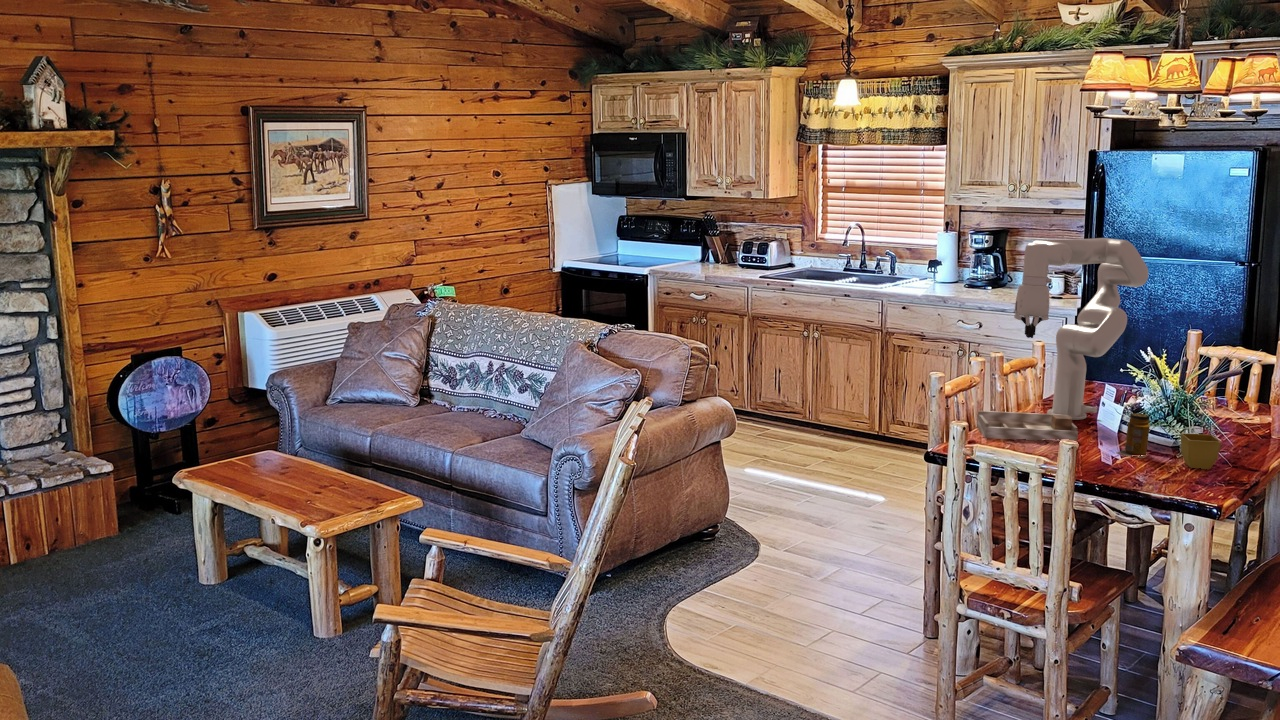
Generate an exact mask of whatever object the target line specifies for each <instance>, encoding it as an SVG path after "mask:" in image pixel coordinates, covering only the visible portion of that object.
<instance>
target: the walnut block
mask: <svg viewBox="0 0 1280 720" xmlns="http://www.w3.org/2000/svg"><path fill="white" fill-rule="evenodd" d="M1072 423H1073V420H1072V419H1071V418H1070V417H1069V416H1068V415H1052V420H1051V427H1052V428H1053V430H1071V426H1072Z"/></svg>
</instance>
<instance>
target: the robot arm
mask: <svg viewBox="0 0 1280 720" xmlns="http://www.w3.org/2000/svg"><path fill="white" fill-rule="evenodd" d="M1024 249H1025V250H1024V259H1023V271H1022V272H1023V273H1022V280H1021V281H1022V283H1021V284H1019V286H1018V289H1017V292H1016V297H1015V298H1016V299H1015V302H1014V304H1015V305H1014V316H1013V317H1014V319H1016V320H1020V321H1021V322H1022V323H1023V324H1024V335H1025V337H1026V338H1027V339H1034V336H1035V335H1036V329H1037V328H1036V327H1037V326H1038V325H1039V324H1040V323H1041V322H1042V321H1043V322H1045V321H1048V320H1049V313H1050V289H1049V286H1048V284H1050V283H1052V282H1053V281H1052V280H1053V279H1052V278H1050V277H1048V276H1049V275H1048V274H1049V273H1048V272H1049V266H1055V267H1061V266H1065V265H1067V264H1069V265H1079V266H1080V265H1083V266H1084V265H1090V264H1091V265H1092V264H1097V265H1098V264H1100V265H1099V266H1098V270H1097V291H1096V293H1095V294H1094V295H1093V296H1092V298H1091V299H1090V300H1089V302H1087V303H1086V304H1085V306H1084V307H1083V308H1082V309H1081V311H1079V313H1078V315H1077V319H1076V320H1077V321H1076V322H1077V324H1075V323H1073V324H1072V323H1070V324H1069V323H1068V324H1064V325H1062V326H1060V327H1059V329H1058V330H1057V332H1056V335H1055V344H1056V354H1057V355H1056V368H1055V378H1054V389H1053V400H1052V408H1050V409H1047V412H1046V414H1062V415H1068V416H1069V417H1070V418H1071V419H1072V421H1073V420H1074V421H1079V420H1084V419H1087V413H1097V412H1098V407H1096V406H1092V405H1085V404H1084V394H1085V385H1086V375H1087V362H1086V359H1085V356H1087V357H1093V358H1099V357H1102V356H1103V355H1105V354H1106V353H1107V352H1108V351H1109V350H1110V349H1111V347H1112V346H1113V345H1114V344H1115V343H1116V342H1117V340H1119V338H1120V337H1121V335H1123V333H1124V332H1125V329H1126V328H1127V325H1128V315H1127V313H1126V312H1125V310H1123V309H1122V308H1121V307H1119V306H1120V305H1121V296H1120V292H1119V290H1118V286H1123V287H1124V286H1125V287H1132V288H1139V287H1142V286H1144V285H1145V284H1146V283H1147V281H1148V278H1149V269H1148V265H1147V264H1146V262H1145V261H1144V259H1143V258H1142V256H1141V254H1140V252H1139V251H1138V249H1137V248H1136V247H1135V245H1134V244H1133V243H1131V242H1130V241H1128V240H1126V239H1119V238H1118V239H1117V238H1108V237H1096V238H1071V239H1038V240H1034V241H1033V242H1030V243H1027V244H1026V246H1025V248H1024ZM1030 317H1032V320H1030ZM1030 321H1031V322H1030Z"/></svg>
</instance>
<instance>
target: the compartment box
mask: <svg viewBox="0 0 1280 720" xmlns="http://www.w3.org/2000/svg"><path fill="white" fill-rule="evenodd" d="M1052 415H1062V414H1047V413H1036V412H1034V413H1033V412H1015V411H1014V412H1013V411H997V410H996V411H995V410H994V411H993V410H992V411H991V410H978V411H977V418H976V419H977V422H976V428H977V429H978V431H979V432H980V433H981V435H982V436H983V437H984V438H985V439H997V440H999V439H1000V440H1001V439H1002V440H1016V439H1026V440H1025V441H1037V440H1042V439H1045V440H1046V439H1047V440H1050V439H1055V440H1057V439H1059V440H1061V439H1069V440H1075V441H1077V442H1078V436H1079V431H1078V427H1077V426H1076V425H1075V423H1073V422H1072V426H1071V430H1053V428H1052V427H1051V420H1052ZM1058 442H1059V441H1058ZM1059 443H1060V442H1059Z"/></svg>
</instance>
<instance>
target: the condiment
mask: <svg viewBox="0 0 1280 720" xmlns="http://www.w3.org/2000/svg"><path fill="white" fill-rule="evenodd" d="M1129 417H1130V418H1129V420H1128V423H1127V429H1126V438H1125V448H1124V449H1122V450H1119V451H1116V454H1120V455H1123V456H1127V457H1131V456H1132V455H1140V456H1139V457H1136V458H1139V459H1141V458H1143V457H1145V456H1141V455H1146V453H1149V452H1147V451H1148V445H1149V444H1148V443H1149V437H1150V436H1149V434H1150V427H1151V426H1150V424H1149V423H1150V416H1149V415H1148V414H1145V413H1139V412H1137V413H1136V412H1133V413H1131V414H1130V415H1129ZM1132 457H1133V456H1132ZM1133 458H1134V457H1133Z"/></svg>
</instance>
